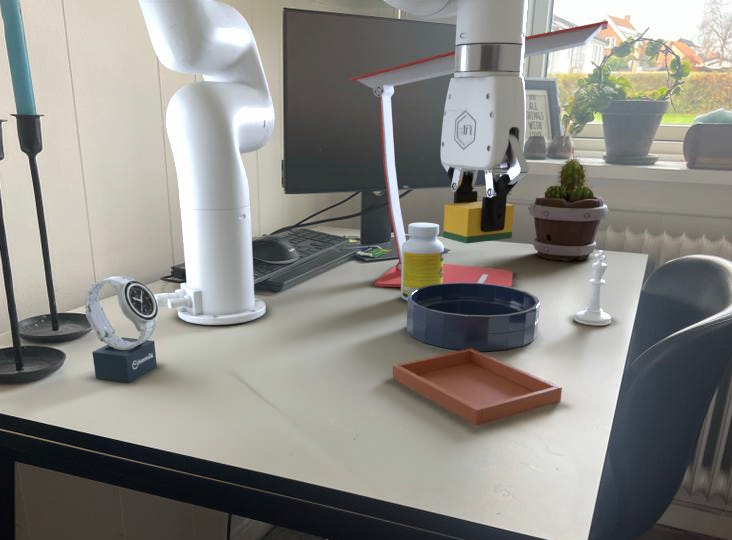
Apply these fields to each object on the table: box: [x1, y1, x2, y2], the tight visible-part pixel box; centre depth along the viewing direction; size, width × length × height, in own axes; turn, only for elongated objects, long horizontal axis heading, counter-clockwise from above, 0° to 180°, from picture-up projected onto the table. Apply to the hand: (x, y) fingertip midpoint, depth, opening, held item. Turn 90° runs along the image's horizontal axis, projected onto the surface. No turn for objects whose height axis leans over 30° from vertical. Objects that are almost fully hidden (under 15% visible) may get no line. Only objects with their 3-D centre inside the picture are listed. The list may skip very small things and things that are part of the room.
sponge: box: [442, 200, 515, 245], centre depth 85 cm, size 7×4×4 cm, turn 120°
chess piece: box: [574, 250, 612, 327], centre depth 99 cm, size 5×5×10 cm
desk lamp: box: [349, 20, 609, 288], centre depth 116 cm, size 18×38×40 cm, turn 72°
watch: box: [84, 275, 159, 384], centre depth 79 cm, size 6×8×11 cm
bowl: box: [406, 282, 541, 352], centre depth 94 cm, size 17×17×5 cm
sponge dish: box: [391, 348, 563, 426], centre depth 75 cm, size 11×14×2 cm
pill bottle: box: [400, 222, 445, 302], centre depth 109 cm, size 6×6×12 cm
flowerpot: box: [527, 153, 610, 262], centre depth 139 cm, size 14×15×20 cm
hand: (478, 225), depth 85 cm, fingers closed on sponge, 4 cm apart
